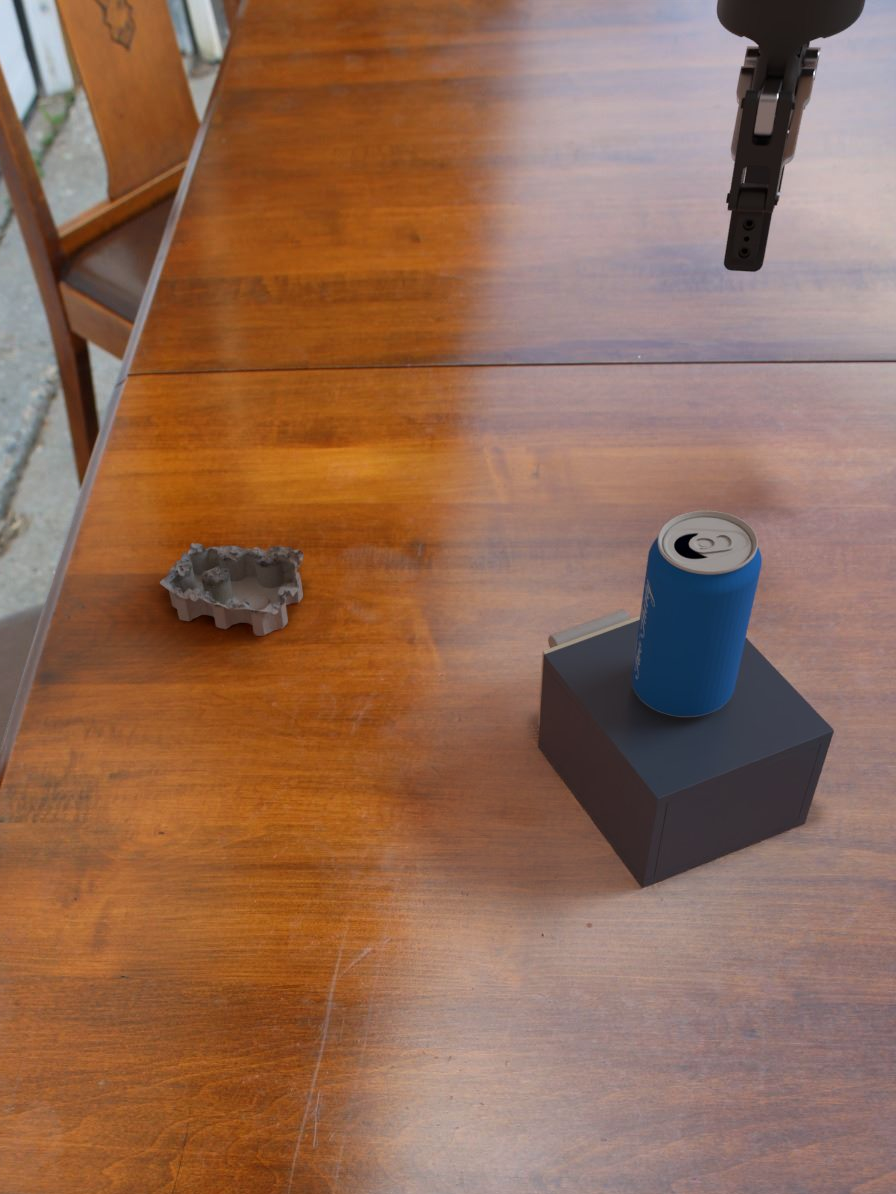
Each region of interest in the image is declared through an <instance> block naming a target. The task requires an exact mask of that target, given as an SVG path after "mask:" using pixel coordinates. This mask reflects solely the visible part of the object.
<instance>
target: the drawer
mask: <svg viewBox="0 0 896 1194" xmlns="http://www.w3.org/2000/svg"><path fill="white" fill-rule="evenodd" d="M637 620H640V615H637V616H635V617H631V618H630V616H629V613H628V612H627V611H626V609H624V608H621V609H619V610H616V611H614V612H611V613H608V614H604V615H602V616H600V617H596V618H593V619H591V620H588V621H586V622H583V623H580V624H577V625H574V626H572V627H569V628H566V629H564V630H561V631H558V632H556V633H552V634H550V635H549V636H548V638H547V641H548V646H549V648H547V649H544V650H542V652H541V653H542V655H541V672H540V685H539V687H540V688H539V703H538V720H537V726H538V727H539V724H540V708H541V692H542V676H543V664H544V663H543V659H544V654H547V653H550V652H552V651H555V650H558V649H561V648H563V647H566V646H569V645H572V644H574V643H577V642H580V641H583V640H585V639H588V638H591V637H593V636H596V635H599V634H602V633H604V632H607V631H610V630H613V629H615V628H618V627H621V626H624V625H626V624H629V623H632V622H635V621H637Z"/></svg>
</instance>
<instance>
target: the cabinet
mask: <svg viewBox="0 0 896 1194" xmlns="http://www.w3.org/2000/svg"><path fill="white" fill-rule="evenodd" d="M639 621H640V620H637V621H635V622H632V623H629V624H626V625H624V626H621V627H618V628H615V629H613V630H610V631H607V632H604V633H602V634H599V635H596V636H593V637H591V638H588V639H585V640H583V641H580V642H577V643H574V644H572V645H569V646H566V647H563V648H561V649H558V650H555V651H552V652H550V653H547V654H544V659H543V663H544V664H543V676H542V692H541V708H540V724H539V726H538V727H539V728H538V740H537V748H538V749H539V750H540V752H541V754H543V756H544V757H545V759H546V760H547V762H548V763H549V764H550V766H551V767H552V768H553V770H554V771H555V772H556V774H557V775H558V777H560V780H561V781H562V782H563V783H564V784H565V786H566V787H567V789H568V790H569V791H570V793H571V794H572V795H573V797H574V798H575V799H576V800H577V802H578V803H579V805H580V806H581V808H582V809H583V810H584V812H585V813H586V814H587V816H588V817H589V819H590V820H591V821H592V823H593V824H594V825H595V826H596V829H598V831H599V832H600V833H601V835H602V836H603V837H604V839H605V840H606V841H607V843H608V844H609V846H610V847H611V848H612V850H613V851H614V852H615V854H616V855H617V857H618V858H619V859H620V861H621V862H622V863H623V864H624V866H625V867H626V869H627V870H628V871H629V873H630V874H631V876H632V877H633V878H634V879H635V881H636V882H637V884H638V885H639V886H640V888H641V889H645V888H648V887H649V886H650V887H651V886H652V885H655V884H657V883H660V882H663V881H664V880H667V879H670V878H673V877H675V876H677V875H680V874H682V873H685V872H687V871H690V870H692V869H695V868H697V867H701V866H702V865H704V864H707V863H710V862H712V861H715V860H717V859H720V858H722V857H725V856H728V855H730V854H733V853H735V852H737V851H740V850H742V849H745V848H747V847H751V846H752V845H755V844H757V843H760V842H763V841H764V840H768V839H771V838H773V837H775V836H777V835H780V834H782V833H784V832H788V831H790V830H793V829H795V828H798V827H800V826H802V825H805V824H806V822H807V818H808V815H809V812H810V809H811V805H812V803H813V800H814V796H815V793H816V790H817V788H818V783H819V780H820V778H821V775H822V771H823V768H824V764H825V761H826V759H827V756H828V752H829V750H830V749H829V748H830V746H831V742H832V739H833V736H834V732H835V729H834V728H833V727H832V726H831V725H830V724H829V723H828V722H827V721H826V720H825V719H824V718H823V717H822V715H820V713H818V711H817V710H816V709H815V708H814V707H813V706H812V705H811V704H810V703H809V702H808V701H807V700H806V699H805V698H804V696H802V695H801V693H799V692H798V690H797V689H796V688H795V687H794V686H793V685H792V684H791V683H790V682H789V681H788V680H787V679H786V678H785V677H784V676H783V674H782V673H780V672H779V670H778V669H777V668H776V667H775V666H774V665H773V664H772V662H770V661H769V660H768V659H767V658H766V656H765V655H764V654H763V653H762V652H760V651H759V649H758V648H756V646H755V645H754V644H753V643H752V642H751V640H749V639H748V638H747V637H746V638H745V643H744V647H743V652H742V657H741V661H740V666H739V670H738V675H737V679H736V684H735V689H734V692H733V694H732V696H731V698H730V699H729V700H728V702H727V703H726V704H725V705H724V706H722V707H721V708H719V709H718V710H716V711H714V712H711V713H709V714H705V715H702V716H696V717H677V716H671V715H667V714H664V713H661V712H658V711H656V710H654V709H652V708H650V707H649V706H648V705H646V704H645V703H644V702H643V701H641V699H640V698H639V697H638V696H637V694H636V693H635V691H634V688H633V684H632V674H633V666H634V659H635V651H636V644H637V636H638V629H639Z"/></svg>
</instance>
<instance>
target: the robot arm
mask: <svg viewBox="0 0 896 1194" xmlns="http://www.w3.org/2000/svg"><path fill="white" fill-rule="evenodd" d="M865 5H866V0H717V3H716V16H717V20H718V21H719V23H720V24H721V26H722V27H723V28H724V29H725V30H726V31H728V32H729V33H731V34H732V35H734V36H736V37H739V38H743V37H744V38H746V39H748V40H750V41H752V42H754V43H755V44H756V45H747V47H746V49H745V55H744V60H743V65H741V66H740V70H739V75H738V80H737V86H736V91H735V92H736V102H737V105H738V106H737V113H736V117H735V122H734V129H733V134H732V140H731V143H730V144H731V145H730V157H731V159H732V161H733V162H734V163H733V169H732V177H731V183H730V189H729V192H727V194H726V200H725V204H727V211H729V212H730V211H731V212H730V219H729V225H728V232H727V238H726V246H725V250H724V251H725V252H724V259H723V266H724V268H725V269H726V270H728V271H733V272H749V273H755V272H758V271H760V270H761V269H762V268H763V265H764V261H765V256H766V249H767V245H768V239H769V234H770V228H771V222H772V217H773V213H774V209H775V208H776V207H777V206H778V202H779V201H780V197H781V189H782V184H783V179H784V172H785V167H786V165H787V164H790V163H791V162H792V161H793V159H794V158H795V154H796V150H797V144H798V139H799V134H800V129H801V125H802V124H801V123H802V119H803V114H804V110H805V109H806V107H807V106H808V105H809V103H810V101H811V97H812V93H813V87H814V83H815V82H814V81H815V79H816V75H817V70H818V65H819V60H820V54H821V50H822V47H821V46H820V47H819V46H818V47H817V46H810V45H811V42H813V41H815V40H818V39H827V38H830V37H833V36H836V35H838V34H841V33H843V32H844V31H846V30H847V29H849V28H850V27H851V26H853V25H854V24H855V23H856V22H857V21H858V19H860V17H861V15H862V13H863V11H864V8H865Z"/></svg>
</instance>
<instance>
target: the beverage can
mask: <svg viewBox="0 0 896 1194" xmlns="http://www.w3.org/2000/svg"><path fill="white" fill-rule="evenodd" d="M762 561H763V559H762V553H761V551H760V547H759V538H758V536H757V533H756V532H755V530H754V528H753V527H752V526H751V525H750V524H749V523H747V522H746V521H745V520H743V519H742V518H739V517H738V516H736V515H734V514H730V513H727V512H722V511H718V510H717V511H716V510H694V511H688V512H685V513H682V514H679V515H677V516H675V517H673V518H671V519H670V520H668V521H667V522H666V523H665V524H664V525H662V527H661V529H660V530H659V533H658V536H657V537H656V539H654V541H653V542H652V544H651V546H650V547H649V551H648V556H647V561H646V569H645V578H644V584H643V591H642V599H641V607H640V614H639V616H640V621H639V629H638V636H637V644H636V651H635V659H634V666H633V674H632V684H633V688H634V691H635V693H636V694H637V696H638V697H639V698H640V699H641V701H643V702H644V703H645V704H646V705H648V706H649V707H650V708H652V709H654V710H656V711H658V712H661V713H664V714H667V715H671V716H677V717H696V716H702V715H705V714H709V713H711V712H714V711H716V710H718V709H719V708H721V707H722V706H724V705H725V704H726V703H727V702H728V700H729V699H730V698H731V696H732V694H733V692H734V689H735V684H736V679H737V675H738V670H739V666H740V661H741V657H742V652H743V647H744V643H745V638H747V633H748V629H749V625H750V620H751V615H752V612H753V611H752V610H753V606H754V602H755V598H756V592H757V588H758V583H759V578H760V574H761V570H762V564H763V563H762Z"/></svg>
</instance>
